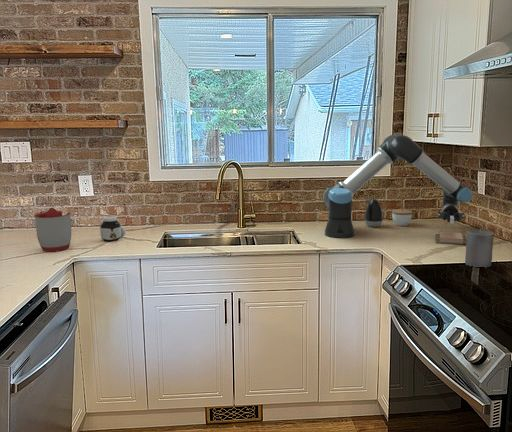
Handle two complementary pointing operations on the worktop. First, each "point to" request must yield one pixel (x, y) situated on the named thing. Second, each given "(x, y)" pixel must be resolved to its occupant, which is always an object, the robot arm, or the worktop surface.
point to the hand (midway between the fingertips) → (452, 221)
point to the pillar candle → (479, 248)
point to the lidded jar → (401, 217)
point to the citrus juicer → (53, 230)
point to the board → (437, 239)
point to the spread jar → (111, 229)
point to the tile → (451, 237)
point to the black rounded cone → (373, 213)
